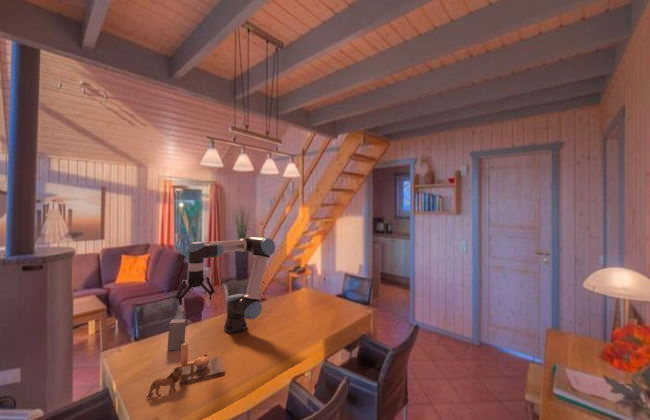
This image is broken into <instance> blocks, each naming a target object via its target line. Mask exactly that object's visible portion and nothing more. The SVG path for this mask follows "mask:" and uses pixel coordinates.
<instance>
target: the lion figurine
mask: <svg viewBox="0 0 650 420" xmlns="http://www.w3.org/2000/svg"><path fill="white" fill-rule="evenodd" d="M182 372H183V370H182V367H179V365H178V366H176V367H174V368H173V371H172V372H171V373H170V374H169V375H168V376H167V377H166V376H165V377H161V378H160V377H159V378H156V379H154V381H152V382H151V384H150V387H149V390H148V391H149V392H148V395H147V396H146V399H149V397H150V396H153V395H154V392H153V391H154V390H155V395H156V396H157V397H161V396H162V394H161V393H159V390H160V389H161V387H167V386H169V389H170V390H172V391H173V392H176V391H177V389H176V383H177V382H180V381H179V380H180V377H181V376H182Z"/></svg>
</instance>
